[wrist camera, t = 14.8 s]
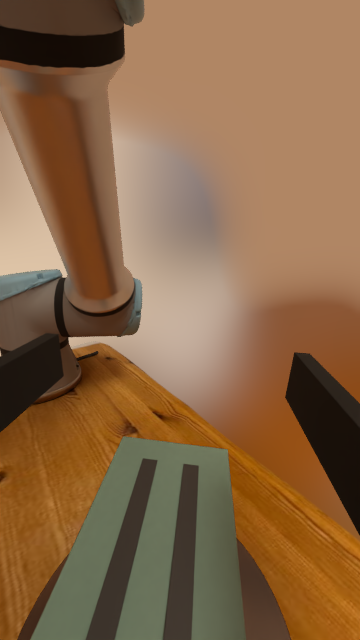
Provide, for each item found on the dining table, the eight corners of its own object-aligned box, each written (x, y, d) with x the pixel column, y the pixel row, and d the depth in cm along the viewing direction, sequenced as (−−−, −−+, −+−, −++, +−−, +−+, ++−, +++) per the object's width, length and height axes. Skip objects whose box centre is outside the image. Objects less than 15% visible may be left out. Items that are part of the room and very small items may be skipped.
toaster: (442, 1377, 6) (930, 1903, 2) (-184, 1074, 8) (-482, 1085, 4) (264, 524, 24) (285, 427, 20) (91, 497, 26) (81, 404, 22)
